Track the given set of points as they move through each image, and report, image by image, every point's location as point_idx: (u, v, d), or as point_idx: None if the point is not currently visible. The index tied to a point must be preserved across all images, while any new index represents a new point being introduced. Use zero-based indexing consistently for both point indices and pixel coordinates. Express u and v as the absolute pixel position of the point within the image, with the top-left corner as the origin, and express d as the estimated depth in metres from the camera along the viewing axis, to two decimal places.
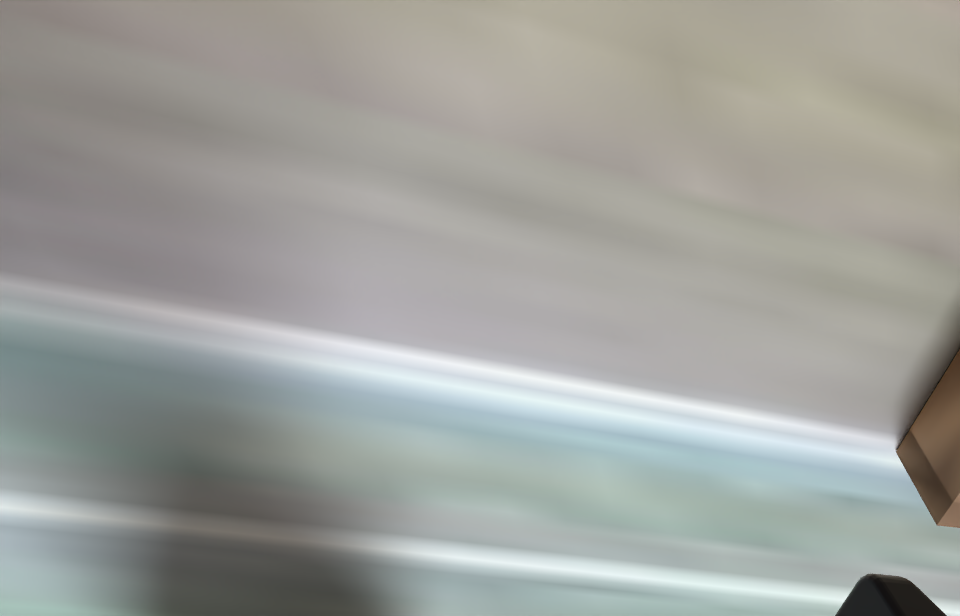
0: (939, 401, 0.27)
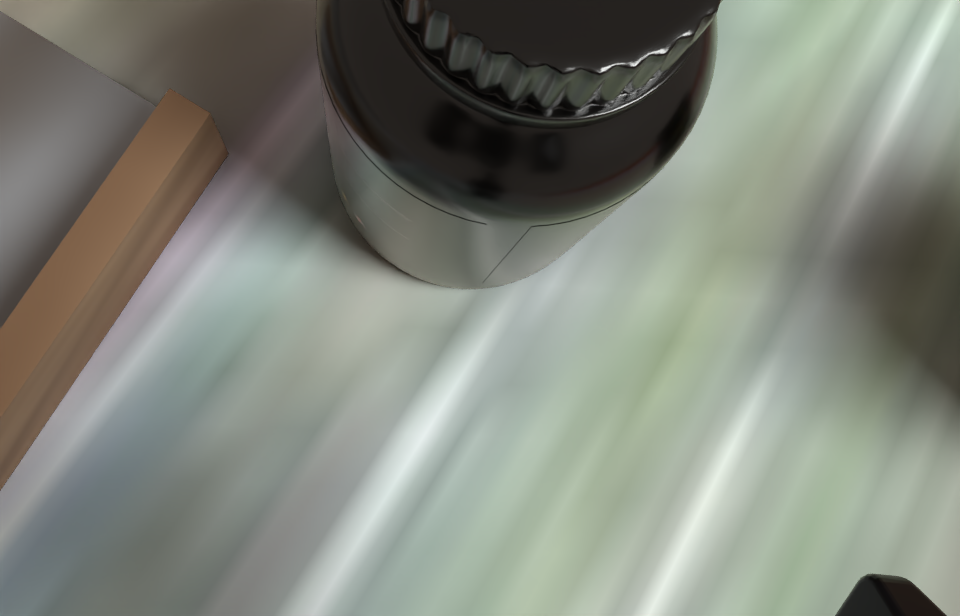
0: None
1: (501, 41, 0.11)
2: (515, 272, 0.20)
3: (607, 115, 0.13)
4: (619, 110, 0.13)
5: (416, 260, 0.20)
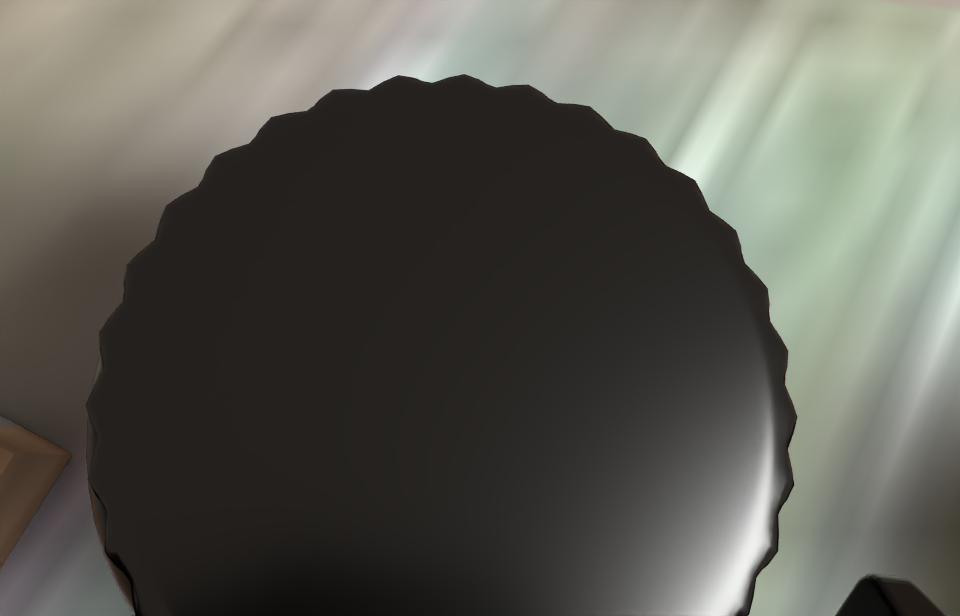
0: None
1: None
2: None
3: None
4: None
5: None
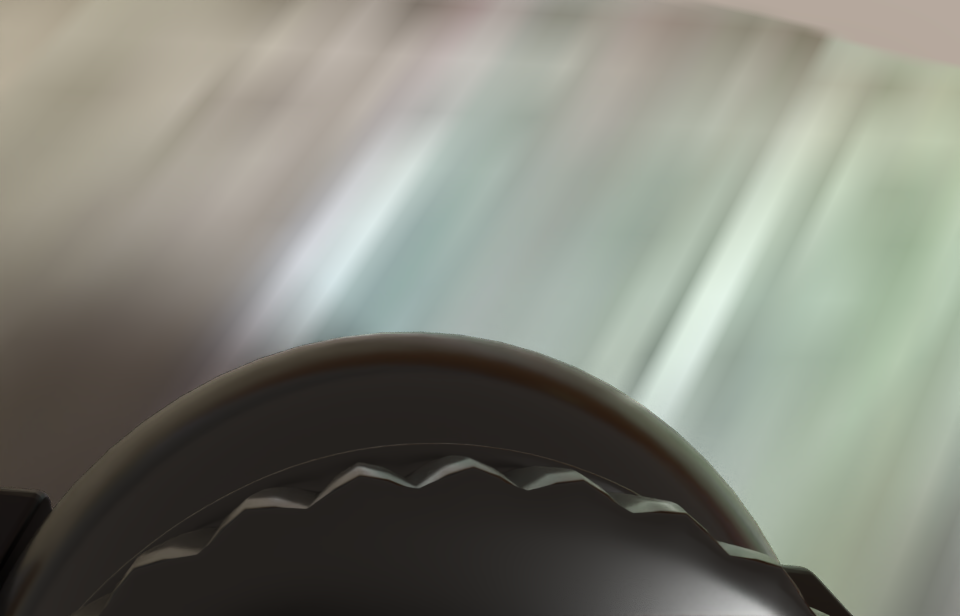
0: None
1: None
2: None
3: None
4: None
5: None
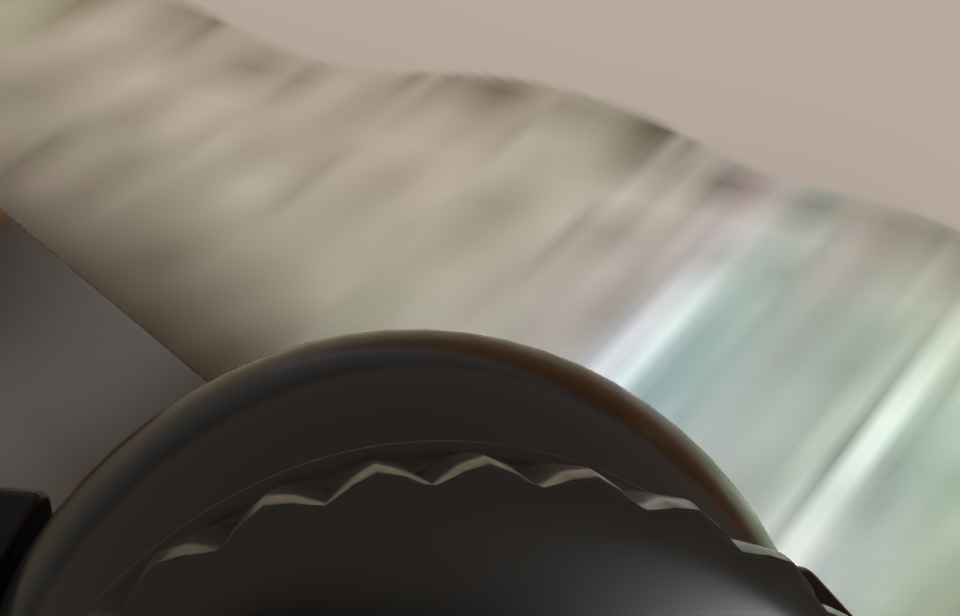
0: None
1: None
2: None
3: None
4: None
5: None
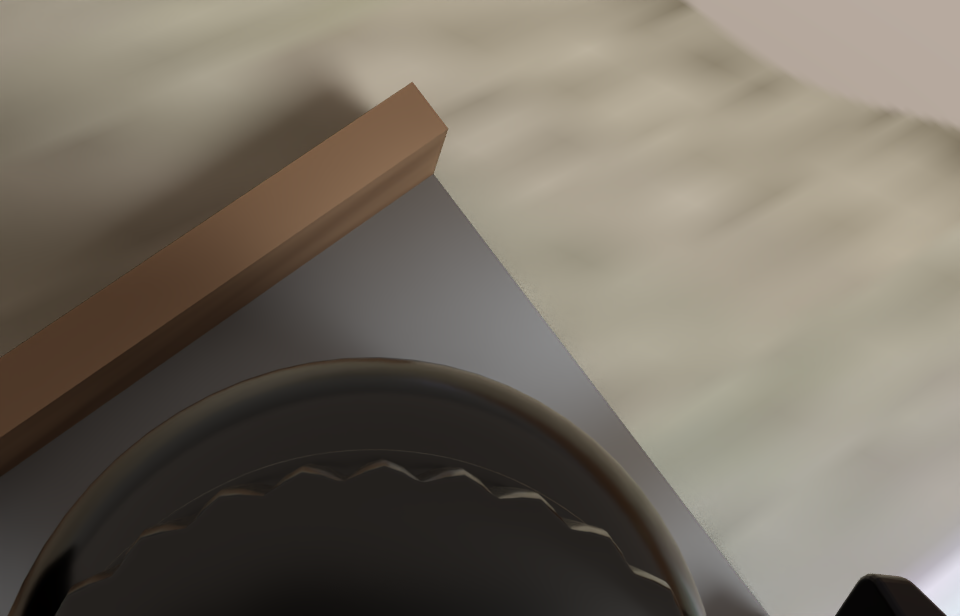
0: None
1: None
2: None
3: None
4: None
5: None
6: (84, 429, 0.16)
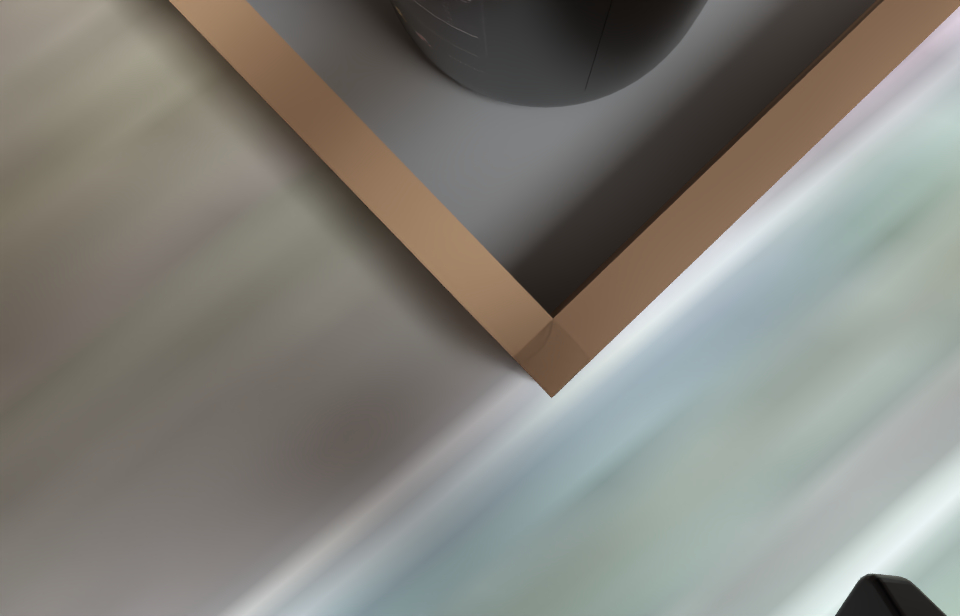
0: None
1: None
2: (622, 65, 0.16)
3: None
4: None
5: (496, 71, 0.16)
6: None
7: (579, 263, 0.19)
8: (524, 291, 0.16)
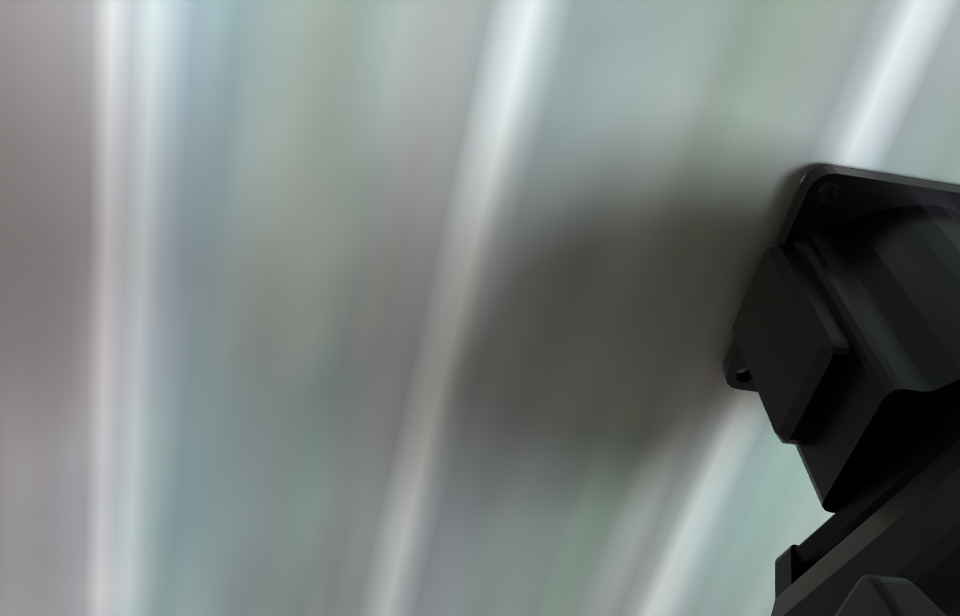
0: None
1: None
2: None
3: None
4: None
5: None
6: None
7: None
8: None
